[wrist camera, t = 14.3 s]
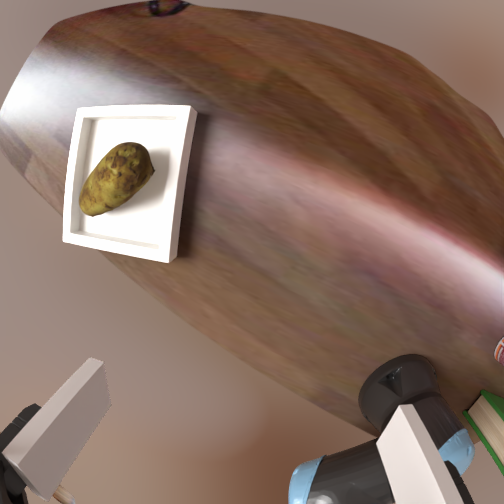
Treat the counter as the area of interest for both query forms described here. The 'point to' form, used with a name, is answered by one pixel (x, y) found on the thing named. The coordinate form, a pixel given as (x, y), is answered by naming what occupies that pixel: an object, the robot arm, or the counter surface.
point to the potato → (116, 178)
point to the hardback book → (489, 424)
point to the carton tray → (148, 197)
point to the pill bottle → (500, 352)
